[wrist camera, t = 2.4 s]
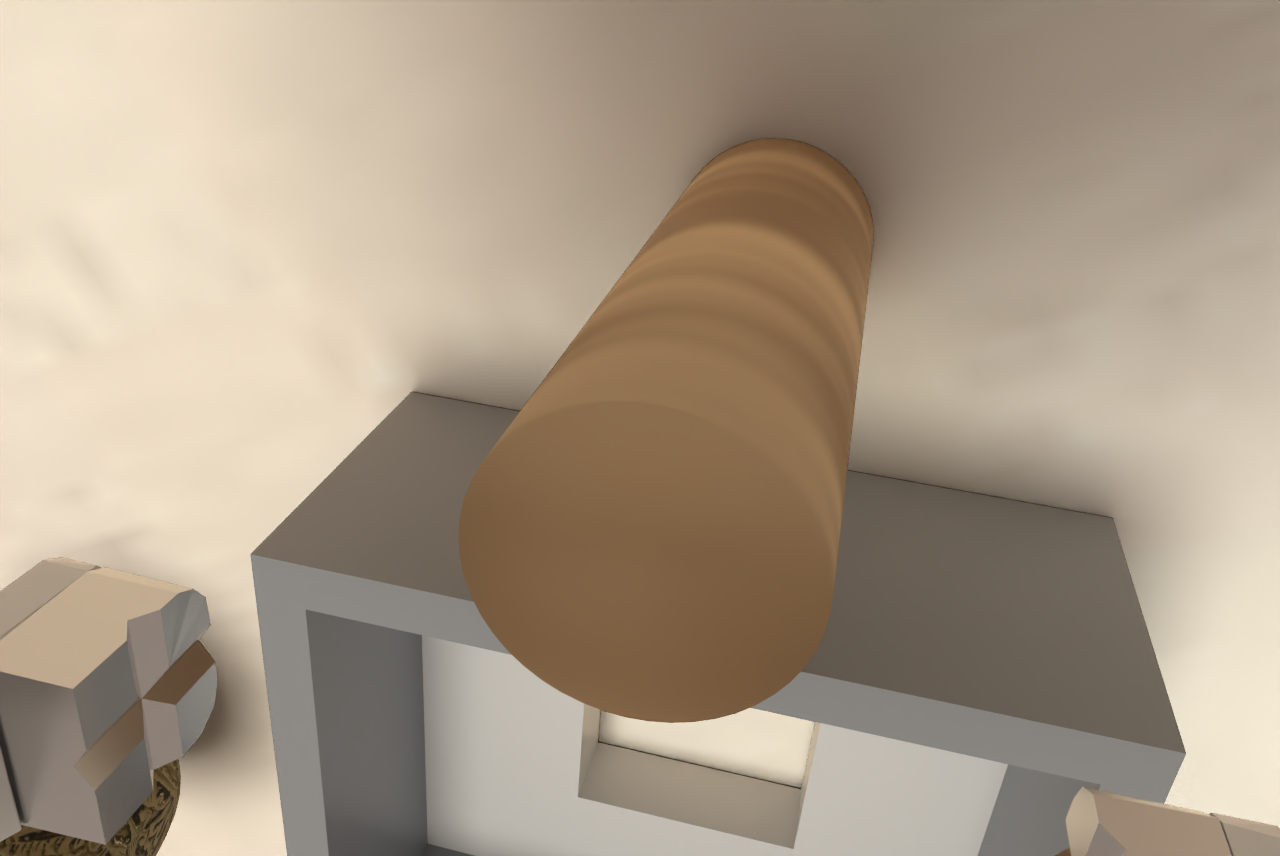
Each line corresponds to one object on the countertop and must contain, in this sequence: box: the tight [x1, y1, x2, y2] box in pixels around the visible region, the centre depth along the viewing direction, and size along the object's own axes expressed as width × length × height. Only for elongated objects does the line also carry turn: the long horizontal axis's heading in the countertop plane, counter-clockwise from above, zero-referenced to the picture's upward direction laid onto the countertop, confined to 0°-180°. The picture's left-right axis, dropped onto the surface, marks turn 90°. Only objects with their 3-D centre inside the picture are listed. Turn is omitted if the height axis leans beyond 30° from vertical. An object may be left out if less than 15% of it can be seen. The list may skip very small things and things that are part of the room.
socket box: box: [251, 392, 1186, 856], centre depth 24 cm, size 14×16×7 cm
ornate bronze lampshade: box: [0, 759, 181, 856], centre depth 29 cm, size 8×7×8 cm
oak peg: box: [458, 138, 874, 723], centre depth 16 cm, size 4×4×12 cm
